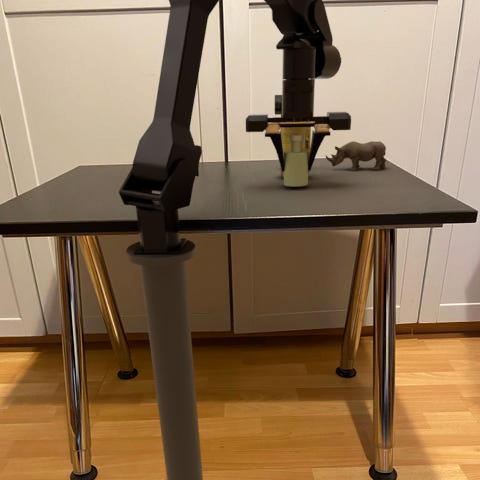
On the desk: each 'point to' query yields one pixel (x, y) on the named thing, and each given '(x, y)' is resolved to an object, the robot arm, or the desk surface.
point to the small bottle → (296, 163)
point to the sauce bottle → (295, 130)
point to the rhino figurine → (360, 154)
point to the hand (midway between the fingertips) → (296, 170)
